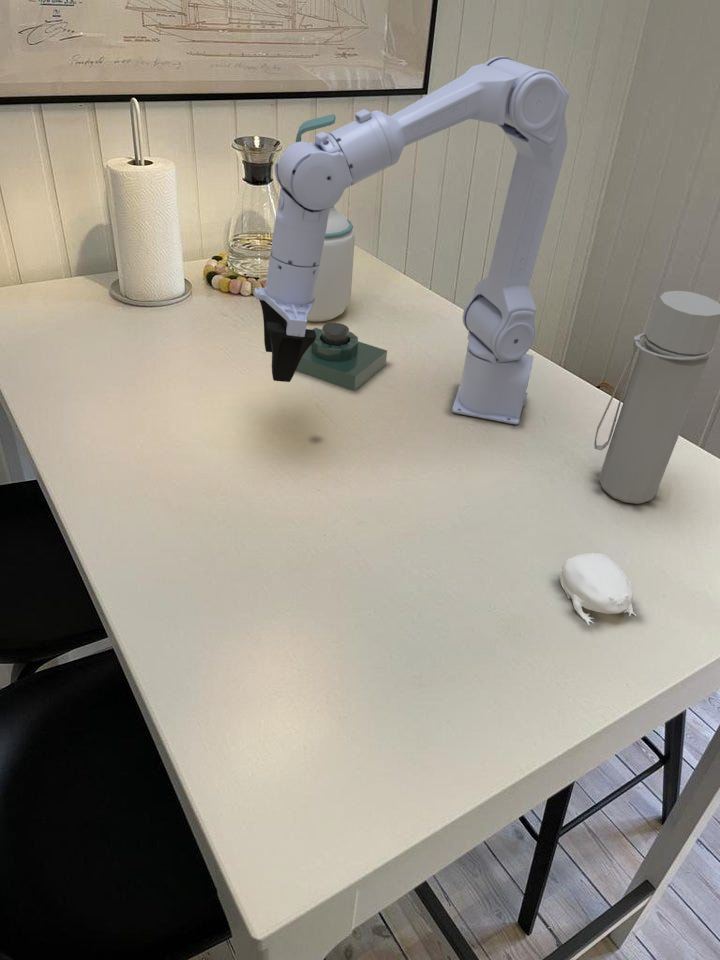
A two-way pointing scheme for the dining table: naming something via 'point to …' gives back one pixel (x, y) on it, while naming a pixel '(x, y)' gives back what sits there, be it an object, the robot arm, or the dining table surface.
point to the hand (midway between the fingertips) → (277, 365)
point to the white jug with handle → (332, 253)
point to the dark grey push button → (335, 334)
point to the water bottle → (658, 394)
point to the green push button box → (342, 361)
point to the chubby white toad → (596, 585)
